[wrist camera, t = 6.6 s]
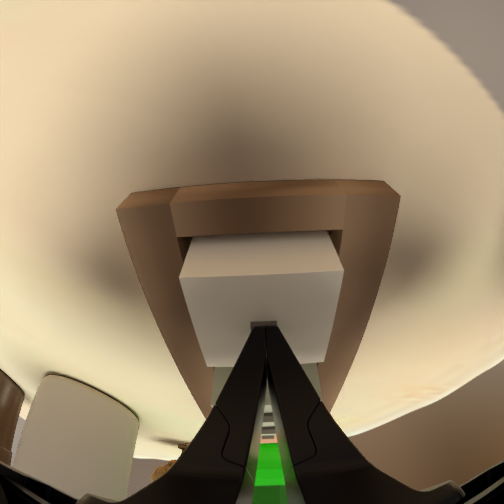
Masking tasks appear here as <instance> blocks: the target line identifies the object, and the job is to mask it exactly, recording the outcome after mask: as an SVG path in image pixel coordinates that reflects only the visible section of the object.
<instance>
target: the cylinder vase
mask: <svg viewBox="0 0 504 504" xmlns="http://www.w3.org/2000/svg"><path fill="white" fill-rule="evenodd" d="M138 429H139V422H138V420H137V418H136V417H135V415H134V414H133V413H132V412H131V411H130V410H129V409H127V408H126V407H125V406H123V405H122V404H120V403H119V402H117V401H116V400H114V399H112V398H111V397H109V396H107V395H105V394H103V393H101V392H99V391H97V390H95V389H93V388H91V387H89V386H87V385H85V384H82V383H80V382H78V381H75V380H72V379H69V378H66V377H63V376H58V375H48V376H45V377H44V378H43V379H42V381H41V383H40V385H39V388H38V390H37V392H36V395H35V397H34V400H33V403H32V405H31V408H30V411H29V413H28V416H27V419H26V422H25V425H24V428H23V431H22V434H21V437H20V441H19V444H18V447H17V451H16V455H15V458H14V462H13V468H15V469H17V470H19V471H21V472H23V473H25V474H27V475H29V476H31V477H34V478H36V479H38V480H40V481H42V482H44V483H46V484H48V485H51V486H53V487H55V488H57V489H59V490H61V491H63V492H65V493H67V494H69V495H71V496H73V497H75V498H77V499H81V498H82V497H83V496H84V495H85V494H87V493H89V494H93V495H97V496H100V497H104V498H108V499H112V500H116V501H122V500H124V499H126V497H127V490H128V483H129V477H130V471H131V465H132V459H133V454H134V449H135V444H136V439H137V434H138Z"/></svg>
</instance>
